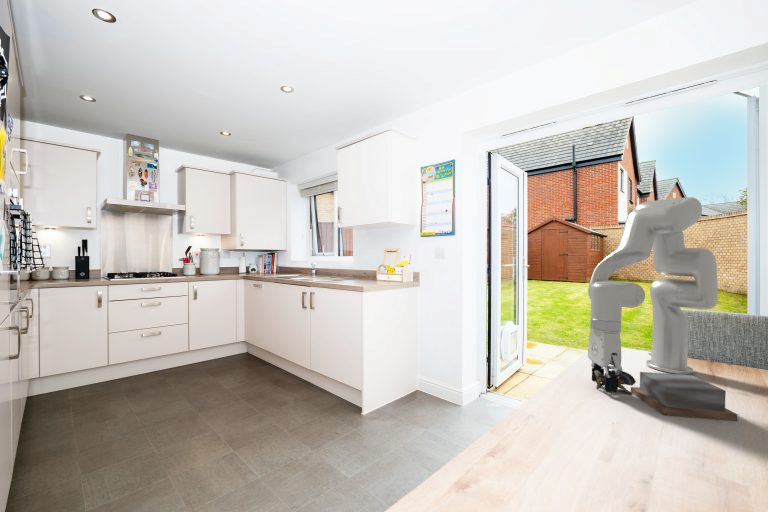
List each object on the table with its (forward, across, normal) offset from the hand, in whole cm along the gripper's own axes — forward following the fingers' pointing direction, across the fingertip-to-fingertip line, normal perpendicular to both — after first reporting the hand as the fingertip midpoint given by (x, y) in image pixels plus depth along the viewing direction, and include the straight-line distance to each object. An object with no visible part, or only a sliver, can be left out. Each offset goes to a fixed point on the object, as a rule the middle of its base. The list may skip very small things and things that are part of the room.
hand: (604, 385), depth 98 cm
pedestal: (+1, +7, +15) cm, 17 cm away
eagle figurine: (+2, 0, +2) cm, 3 cm away
